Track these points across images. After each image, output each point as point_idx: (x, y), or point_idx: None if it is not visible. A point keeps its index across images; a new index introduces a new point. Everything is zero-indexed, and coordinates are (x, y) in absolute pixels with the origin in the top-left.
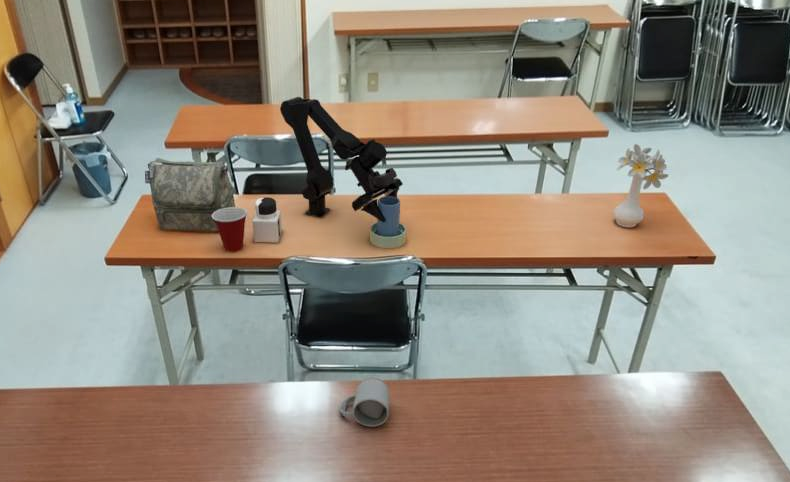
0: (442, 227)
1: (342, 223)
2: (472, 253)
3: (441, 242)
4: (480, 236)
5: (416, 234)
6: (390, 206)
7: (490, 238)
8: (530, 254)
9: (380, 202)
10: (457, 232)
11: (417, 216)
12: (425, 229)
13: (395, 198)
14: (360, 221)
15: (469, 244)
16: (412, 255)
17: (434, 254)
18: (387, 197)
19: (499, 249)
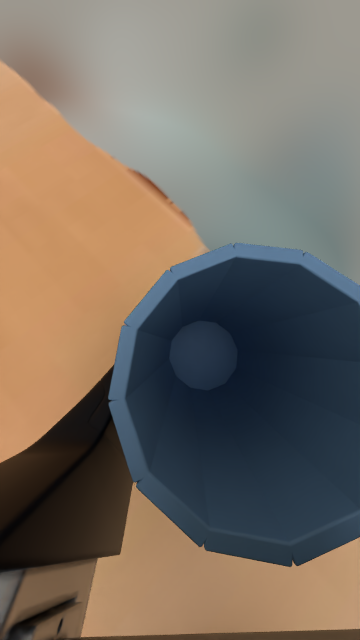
0: (27, 295)
1: (219, 566)
2: (97, 165)
3: (101, 245)
4: (12, 199)
5: (109, 320)
6: (333, 276)
7: (6, 178)
8: (20, 89)
9: (274, 481)
10: (28, 249)
11: (11, 395)
12: (67, 321)
13: (130, 381)
14: (162, 523)
15: (64, 193)
16: (207, 252)
17: (163, 219)
18: (180, 488)
19: (41, 138)
